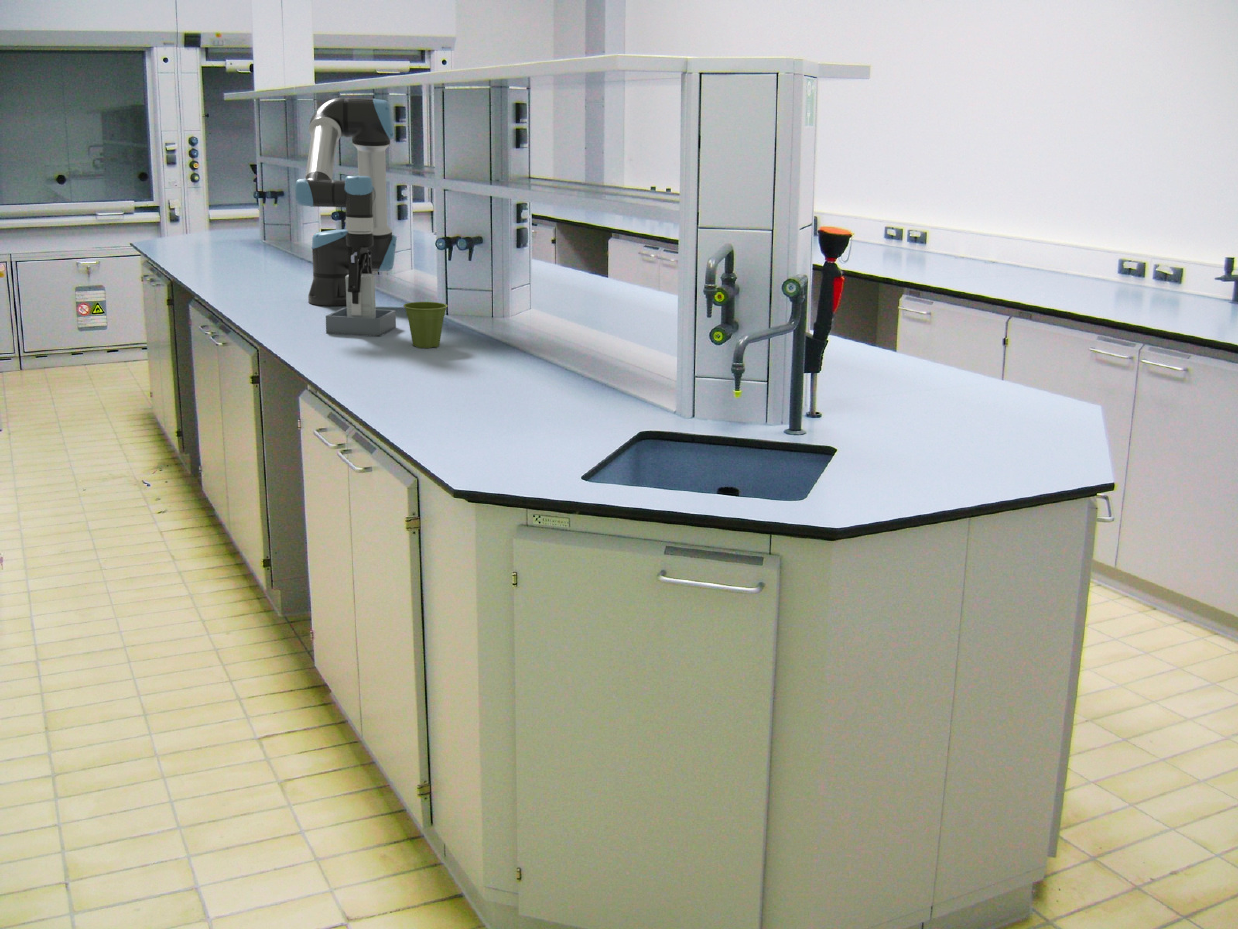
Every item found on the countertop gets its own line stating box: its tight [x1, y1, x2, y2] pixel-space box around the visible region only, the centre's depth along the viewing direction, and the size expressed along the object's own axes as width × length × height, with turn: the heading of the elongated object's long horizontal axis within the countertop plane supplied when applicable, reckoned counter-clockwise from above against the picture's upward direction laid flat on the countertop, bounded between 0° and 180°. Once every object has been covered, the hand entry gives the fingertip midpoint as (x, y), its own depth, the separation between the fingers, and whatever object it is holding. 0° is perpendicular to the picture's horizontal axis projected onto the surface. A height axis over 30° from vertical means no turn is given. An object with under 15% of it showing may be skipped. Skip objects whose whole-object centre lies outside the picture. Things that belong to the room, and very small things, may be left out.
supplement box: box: [345, 273, 377, 318], centre depth 336 cm, size 7×7×13 cm
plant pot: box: [402, 301, 449, 349], centre depth 319 cm, size 12×12×11 cm
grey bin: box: [325, 307, 397, 337], centre depth 338 cm, size 16×16×5 cm
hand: (361, 312), depth 337 cm, fingers closed on supplement box, 8 cm apart
